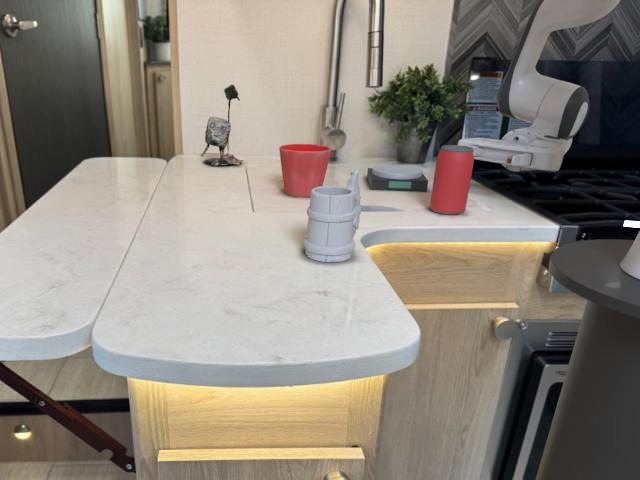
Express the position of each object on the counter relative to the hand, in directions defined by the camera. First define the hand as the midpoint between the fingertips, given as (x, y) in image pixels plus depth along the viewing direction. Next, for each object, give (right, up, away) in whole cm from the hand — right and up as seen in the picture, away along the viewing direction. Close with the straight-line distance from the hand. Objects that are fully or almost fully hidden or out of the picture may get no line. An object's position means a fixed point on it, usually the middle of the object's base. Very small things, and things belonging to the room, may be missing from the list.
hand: (487, 157), depth 111 cm
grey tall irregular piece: (-54, +8, +39) cm, 67 cm away
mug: (-34, -21, -24) cm, 47 cm away
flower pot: (-36, -5, +10) cm, 37 cm away
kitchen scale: (-13, -2, +17) cm, 22 cm away
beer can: (-9, -11, -3) cm, 15 cm away
